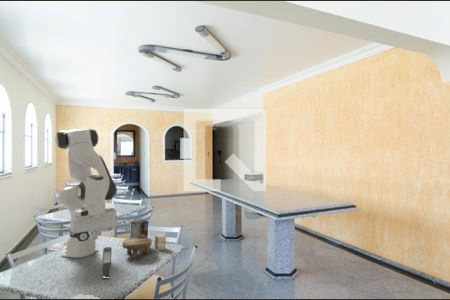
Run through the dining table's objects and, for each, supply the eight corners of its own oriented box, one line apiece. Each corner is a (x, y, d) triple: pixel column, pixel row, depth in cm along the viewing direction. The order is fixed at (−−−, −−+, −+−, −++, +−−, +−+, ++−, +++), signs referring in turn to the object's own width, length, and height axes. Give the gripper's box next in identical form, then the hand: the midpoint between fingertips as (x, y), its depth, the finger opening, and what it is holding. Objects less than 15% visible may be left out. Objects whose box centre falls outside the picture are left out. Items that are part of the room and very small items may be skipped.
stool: (118, 253, 162) (119, 239, 162) (145, 249, 171) (145, 235, 172) (127, 262, 149) (127, 247, 149) (155, 257, 159) (156, 243, 159)
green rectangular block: (102, 262, 147) (103, 247, 147) (110, 261, 149) (111, 246, 149) (101, 279, 128) (102, 261, 128) (110, 278, 130) (111, 260, 130)
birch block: (154, 248, 173) (155, 235, 174) (161, 246, 176) (162, 234, 177) (157, 250, 169) (158, 237, 170) (165, 249, 172) (165, 236, 173)
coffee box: (141, 244, 181) (142, 219, 181) (147, 246, 177) (148, 220, 177) (129, 247, 173) (130, 221, 173) (135, 249, 169) (136, 223, 170)
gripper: (113, 206, 141) (112, 234, 141) (69, 211, 127) (68, 242, 126) (119, 208, 137) (118, 236, 137) (74, 213, 122) (73, 245, 122)
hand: (93, 239), depth 131 cm, fingers closed
